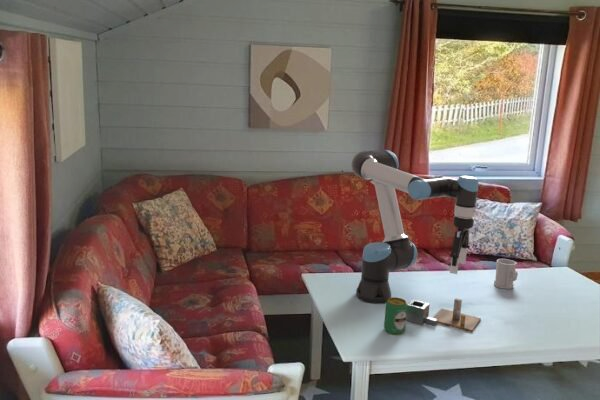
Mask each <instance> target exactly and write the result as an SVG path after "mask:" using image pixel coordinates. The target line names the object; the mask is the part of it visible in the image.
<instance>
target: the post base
mask: <svg viewBox="0 0 600 400" xmlns="http://www.w3.org/2000/svg"><path fill="white" fill-rule="evenodd" d="M462 302H463V300H462V299H461V298H454V301H453V310H449V309H444V308H440V309H439V310H438V311H437V313H436V314H435V315H434V316H433V317H432V318H435V319H437V325H438V324H439V325H442V326H446V327H451V328H453V329H458V330H461V331H465V332H469V333H473V331H475V329H476V328H477V326H478V325H479V324H480V322H481V321H482V318H481V317H478V316H472V315H469V314H466V313H461V311H462Z"/></svg>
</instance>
